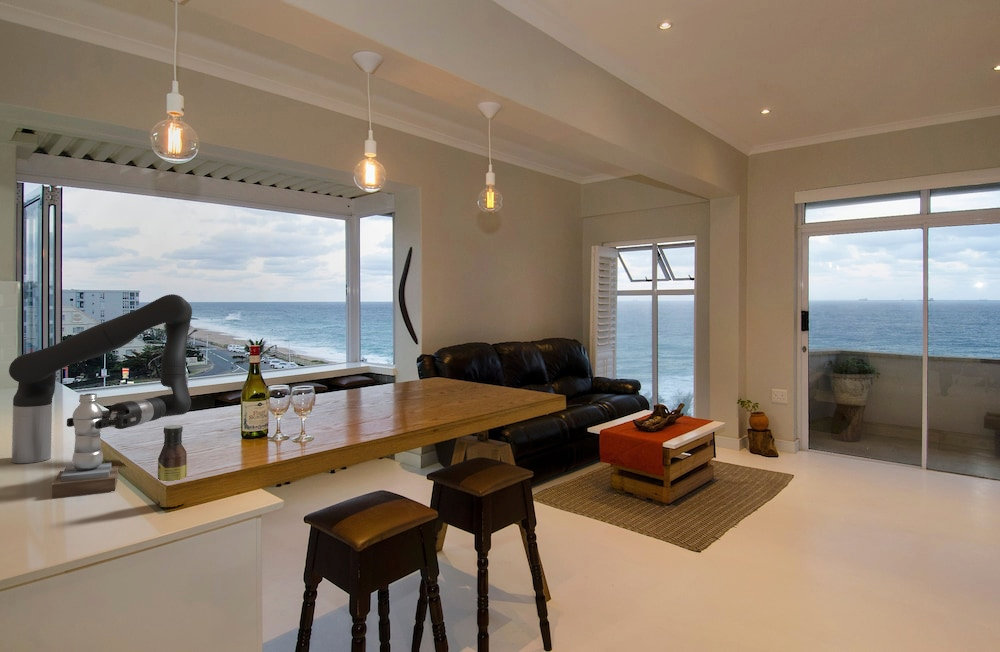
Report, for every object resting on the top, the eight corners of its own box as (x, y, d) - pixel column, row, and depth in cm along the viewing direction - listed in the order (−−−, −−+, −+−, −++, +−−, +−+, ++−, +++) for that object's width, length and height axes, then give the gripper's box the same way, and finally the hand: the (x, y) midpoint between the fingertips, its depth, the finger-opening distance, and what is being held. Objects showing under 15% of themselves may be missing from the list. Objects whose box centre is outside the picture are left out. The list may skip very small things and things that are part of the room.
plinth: (59, 484, 149) (60, 465, 149) (117, 478, 156) (118, 460, 155) (51, 498, 138) (52, 478, 138) (114, 491, 145) (115, 472, 144)
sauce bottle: (165, 500, 139) (167, 422, 139) (191, 500, 140) (193, 423, 140) (151, 509, 133) (153, 428, 133) (178, 510, 133) (180, 428, 133)
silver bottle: (108, 466, 149) (109, 393, 148) (82, 473, 143) (83, 397, 142) (92, 464, 151) (93, 391, 150) (65, 470, 145) (66, 395, 144)
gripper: (110, 399, 161) (58, 408, 145) (153, 402, 159) (106, 411, 143) (109, 424, 161) (58, 436, 145) (153, 427, 160) (105, 440, 143)
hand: (82, 424), depth 144 cm, fingers open, 8 cm apart
